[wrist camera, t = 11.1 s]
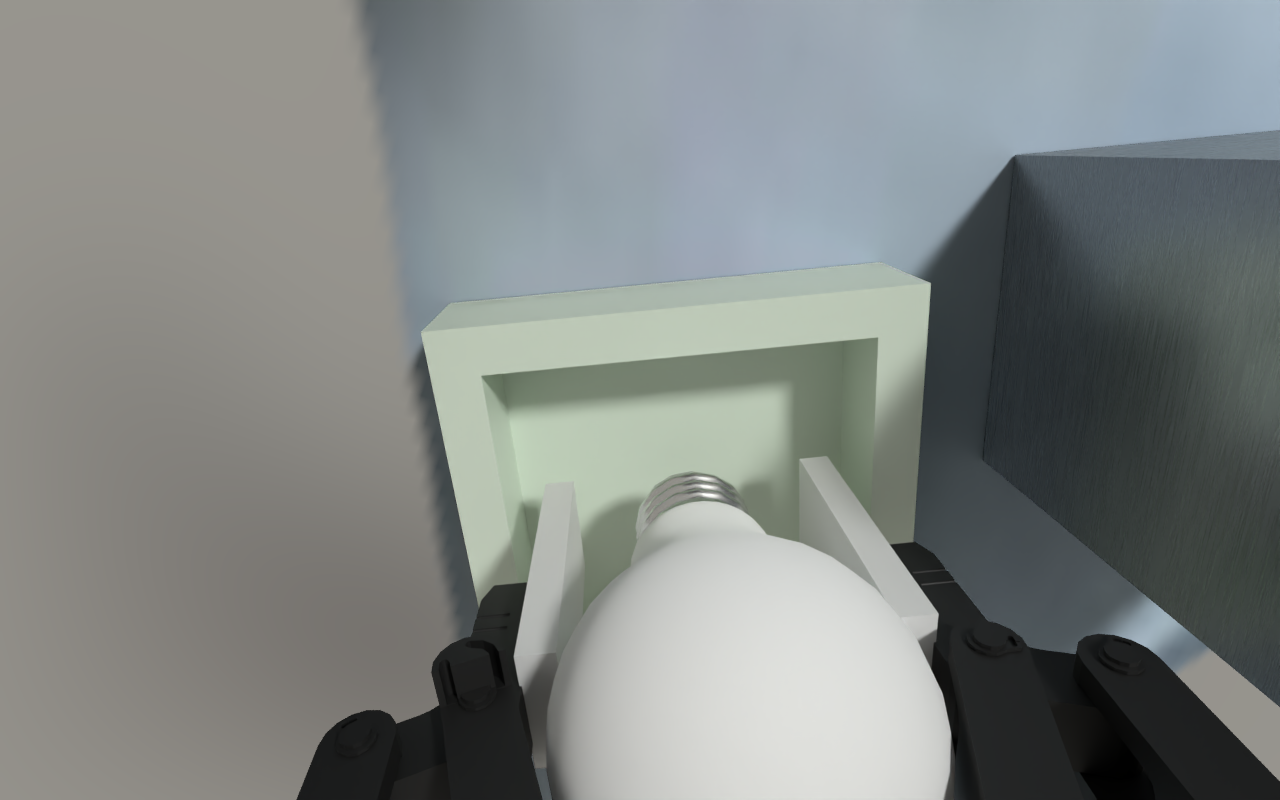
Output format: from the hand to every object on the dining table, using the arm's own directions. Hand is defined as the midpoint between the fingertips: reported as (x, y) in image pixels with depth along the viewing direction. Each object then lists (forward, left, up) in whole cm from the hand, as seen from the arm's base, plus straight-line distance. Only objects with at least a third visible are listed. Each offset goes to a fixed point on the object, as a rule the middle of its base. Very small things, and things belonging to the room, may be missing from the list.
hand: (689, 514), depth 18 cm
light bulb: (0, 0, -1) cm, 1 cm away
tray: (0, 0, -2) cm, 2 cm away
